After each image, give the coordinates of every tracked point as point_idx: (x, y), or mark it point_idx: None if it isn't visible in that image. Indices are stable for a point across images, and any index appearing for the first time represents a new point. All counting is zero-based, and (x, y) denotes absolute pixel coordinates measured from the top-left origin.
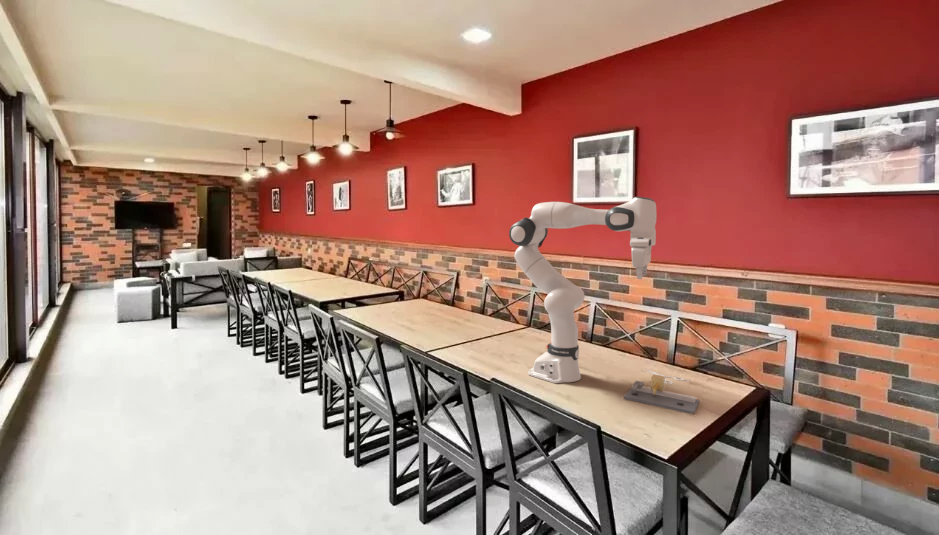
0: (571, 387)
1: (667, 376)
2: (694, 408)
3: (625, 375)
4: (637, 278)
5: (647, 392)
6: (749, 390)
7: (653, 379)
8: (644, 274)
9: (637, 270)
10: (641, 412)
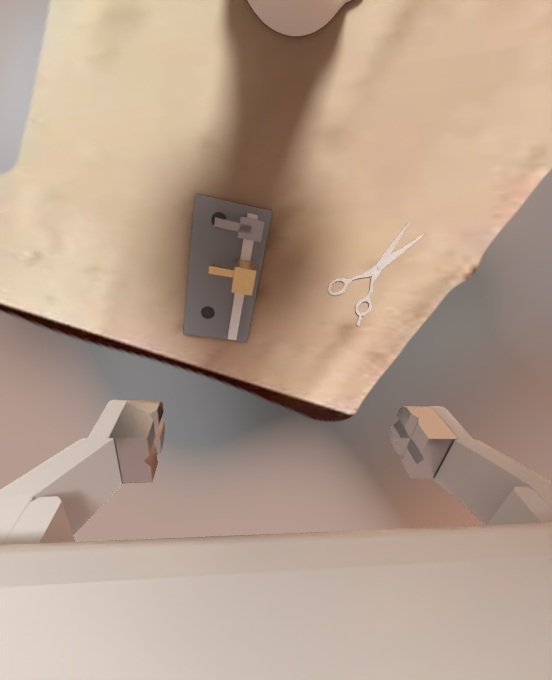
0: (208, 12)
1: (372, 284)
2: (199, 334)
3: (360, 184)
4: (112, 404)
5: (241, 248)
6: (336, 407)
7: (234, 270)
8: (397, 439)
9: (13, 501)
10: (138, 240)
